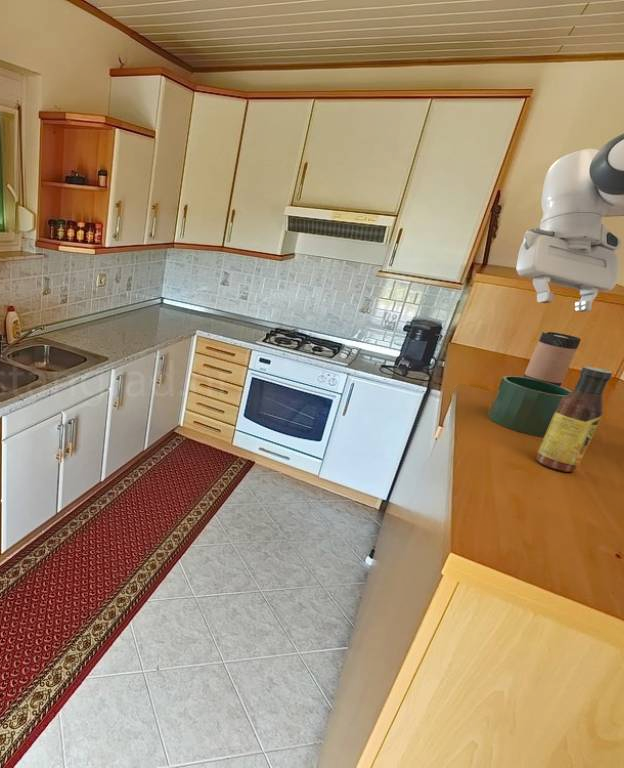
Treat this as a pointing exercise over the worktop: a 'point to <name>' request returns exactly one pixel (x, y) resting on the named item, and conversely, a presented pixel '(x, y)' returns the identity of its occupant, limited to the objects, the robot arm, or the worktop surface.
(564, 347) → the travel mug
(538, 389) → the crock
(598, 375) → the sauce bottle
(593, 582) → the worktop surface
